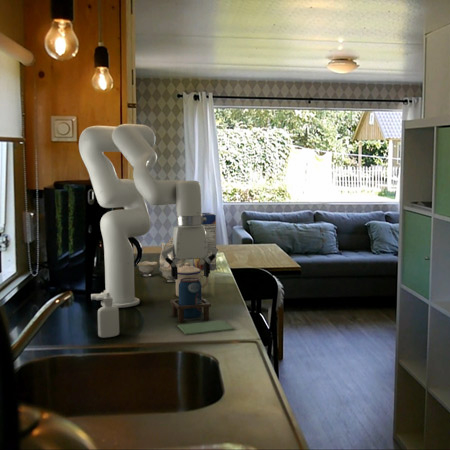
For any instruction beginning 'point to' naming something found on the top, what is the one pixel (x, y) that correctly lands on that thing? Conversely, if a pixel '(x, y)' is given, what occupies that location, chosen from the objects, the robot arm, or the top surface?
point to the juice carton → (208, 240)
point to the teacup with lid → (188, 275)
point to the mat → (205, 327)
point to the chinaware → (161, 264)
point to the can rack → (181, 308)
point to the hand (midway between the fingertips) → (190, 277)
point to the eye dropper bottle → (108, 319)
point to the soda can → (190, 297)
